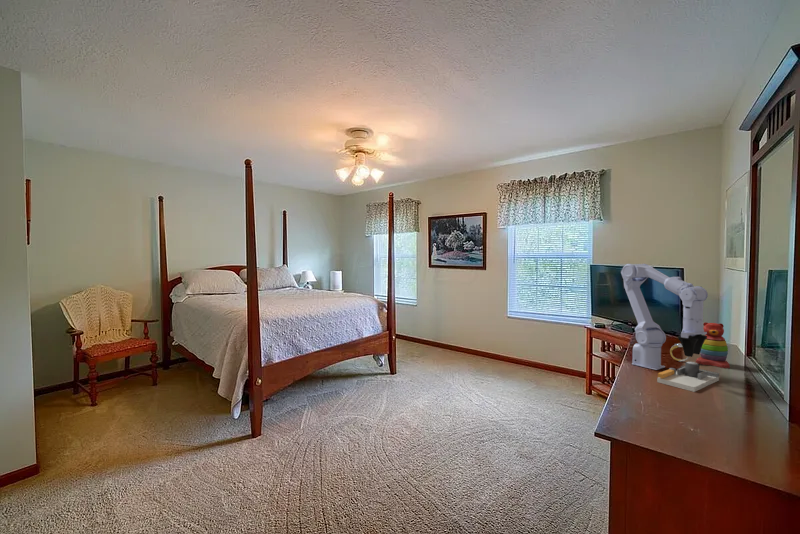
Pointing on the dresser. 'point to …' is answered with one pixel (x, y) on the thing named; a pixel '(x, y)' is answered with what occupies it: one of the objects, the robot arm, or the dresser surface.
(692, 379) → the white tray
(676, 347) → the ring
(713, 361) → the stacking bear
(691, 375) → the plug
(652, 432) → the dresser surface
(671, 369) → the orange-brown long box
